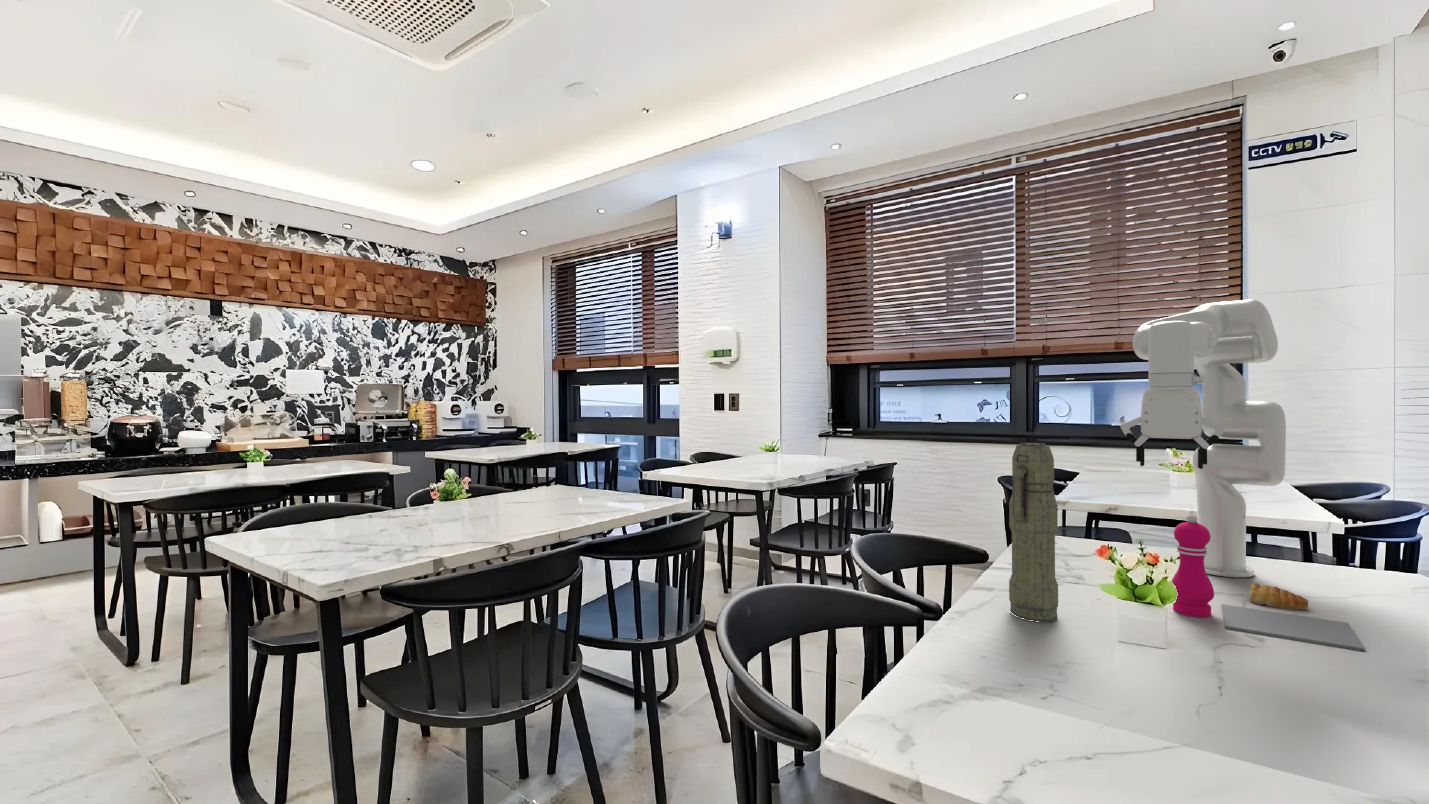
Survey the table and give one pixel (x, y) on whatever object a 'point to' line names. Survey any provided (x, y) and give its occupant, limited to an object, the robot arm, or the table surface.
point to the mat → (1291, 627)
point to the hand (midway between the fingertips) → (1170, 466)
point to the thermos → (1033, 534)
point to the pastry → (1276, 597)
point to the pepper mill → (1192, 570)
